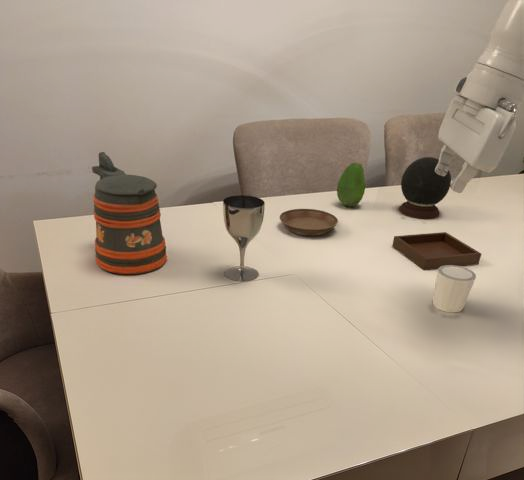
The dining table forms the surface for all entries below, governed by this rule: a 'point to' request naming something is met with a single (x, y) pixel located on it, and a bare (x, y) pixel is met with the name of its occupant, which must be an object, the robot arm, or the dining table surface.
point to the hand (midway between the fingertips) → (446, 182)
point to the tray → (436, 250)
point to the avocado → (351, 185)
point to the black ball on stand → (423, 189)
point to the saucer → (308, 221)
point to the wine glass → (243, 229)
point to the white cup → (452, 287)
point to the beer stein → (126, 221)
